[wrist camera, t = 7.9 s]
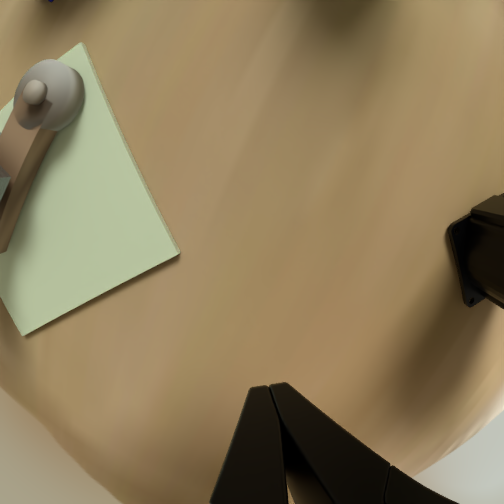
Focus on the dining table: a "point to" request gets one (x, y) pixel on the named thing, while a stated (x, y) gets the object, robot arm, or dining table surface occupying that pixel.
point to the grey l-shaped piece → (34, 131)
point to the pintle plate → (81, 215)
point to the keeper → (3, 180)
